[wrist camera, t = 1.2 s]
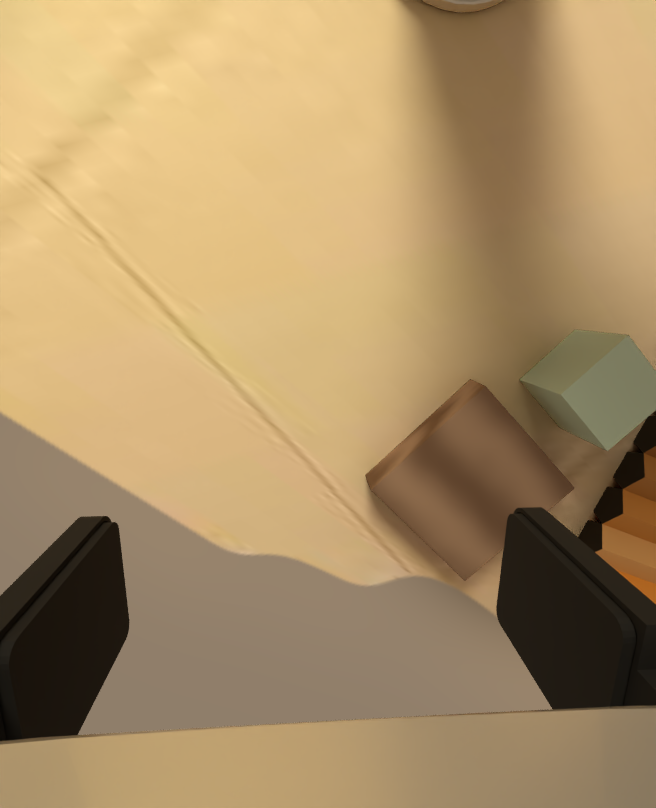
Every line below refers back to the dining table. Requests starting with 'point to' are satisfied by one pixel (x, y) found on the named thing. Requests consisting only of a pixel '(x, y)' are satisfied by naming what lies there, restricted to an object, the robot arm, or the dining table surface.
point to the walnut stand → (466, 478)
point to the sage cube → (595, 386)
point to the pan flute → (630, 516)
